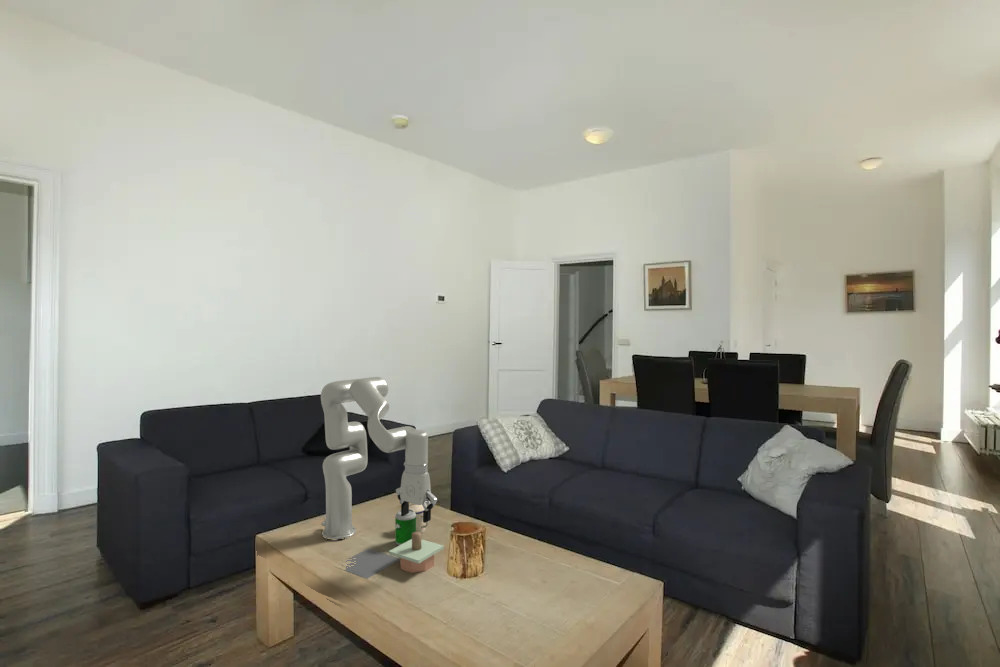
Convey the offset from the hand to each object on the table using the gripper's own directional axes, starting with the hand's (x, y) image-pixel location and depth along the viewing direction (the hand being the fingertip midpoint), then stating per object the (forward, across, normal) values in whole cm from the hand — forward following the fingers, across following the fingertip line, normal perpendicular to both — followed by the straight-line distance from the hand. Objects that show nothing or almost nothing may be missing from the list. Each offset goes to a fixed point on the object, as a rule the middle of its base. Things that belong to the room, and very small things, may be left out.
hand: (415, 518), depth 177 cm
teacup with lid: (+17, -18, +22) cm, 33 cm away
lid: (+11, +1, 0) cm, 11 cm away
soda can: (+17, -14, +11) cm, 24 cm away
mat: (+17, -14, -8) cm, 23 cm away
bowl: (+16, +1, 0) cm, 16 cm away
